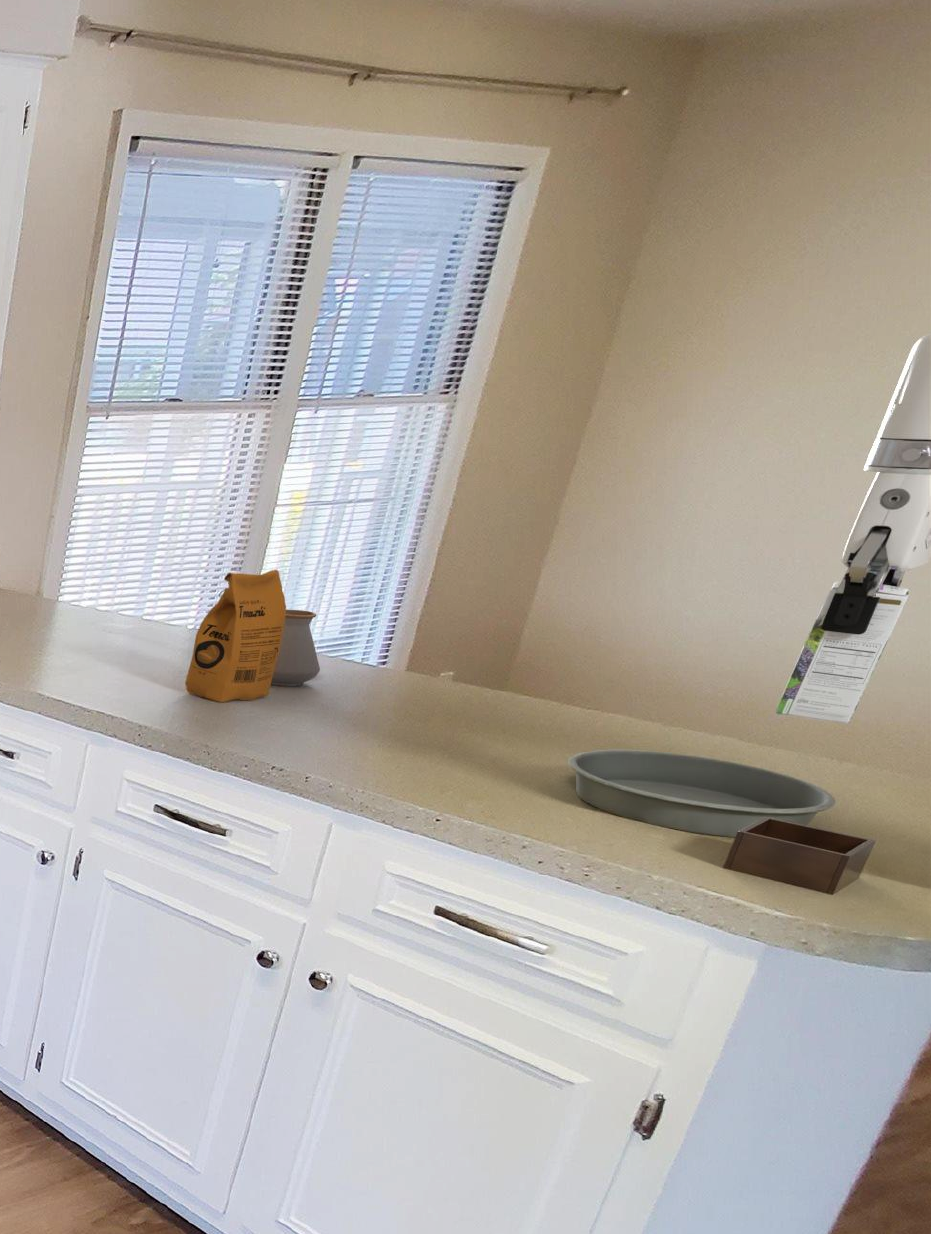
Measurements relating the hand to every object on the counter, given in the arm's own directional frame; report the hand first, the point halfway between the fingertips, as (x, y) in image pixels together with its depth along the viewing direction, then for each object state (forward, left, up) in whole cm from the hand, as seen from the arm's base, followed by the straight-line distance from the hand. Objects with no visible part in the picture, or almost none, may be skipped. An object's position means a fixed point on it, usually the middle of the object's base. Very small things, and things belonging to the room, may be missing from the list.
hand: (852, 626), depth 128 cm
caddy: (-4, +8, -28) cm, 29 cm away
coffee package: (+75, -23, -28) cm, 83 cm away
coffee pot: (+80, -42, -28) cm, 95 cm away
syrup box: (0, 0, -10) cm, 10 cm away
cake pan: (+11, -14, -28) cm, 33 cm away
